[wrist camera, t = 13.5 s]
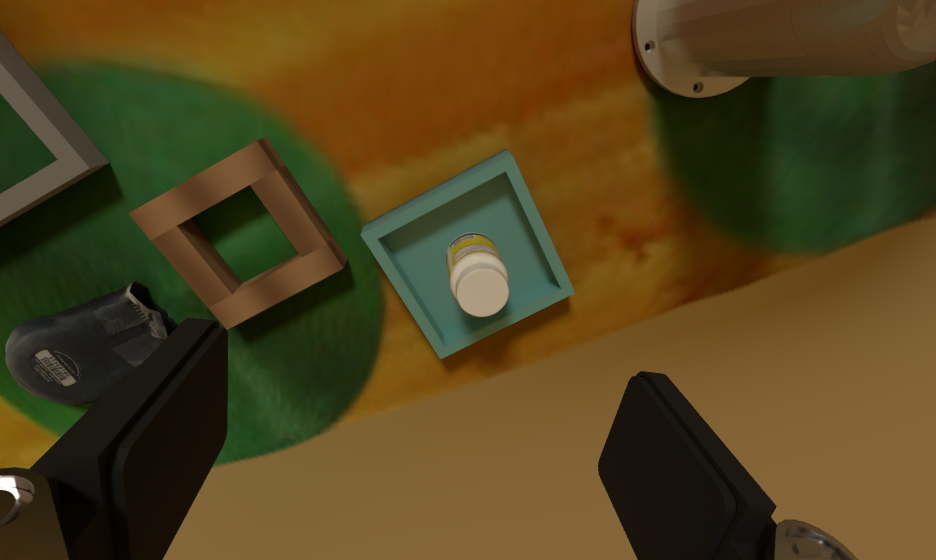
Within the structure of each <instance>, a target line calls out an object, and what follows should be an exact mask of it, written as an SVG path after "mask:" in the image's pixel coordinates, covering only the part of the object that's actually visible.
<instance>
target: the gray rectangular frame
mask: <svg viewBox="0 0 936 560" xmlns="http://www.w3.org/2000/svg"><path fill="white" fill-rule="evenodd" d="M0 93H1V95H2V96H3V97H4V98H5V99H6V100H7V101H8V103H9V104H10V105H11V106H12V107H13V108H14V109H15V111H16V112H17V113H18V114H19V115H20V116H21V117H22V119H23V120H24V121H25V122H26V123H27V124H28V126H29V127H30V128H31V129H32V130H33V131H34V132H35V134H36V135H37V136H38V137H39V138H40V139H41V140H42V142H43V143H44V144H45V145H46V146H47V147H48V149H49V150H50V151H51V152H52V153H53V154H54V155H55V157H56V158H57V159H58V160H57V161H55V162H54V163H52V164H50V165H49V166H47V167H45V168H44V169H42V170H40V171H39V172H37V173H35V174H33V175H32V176H30V177H28V178H27V179H25V180H23V181H22V182H20V183H18V184H17V185H15V186H13V187H12V188H10V189H8V190H6V191H5V192H3V193H1V194H0V227H1V226H3V225H4V224H6V223H8V222H9V221H11V220H13V219H15V218H16V217H18V216H20V215H21V214H23V213H25V212H27V211H28V210H30V209H32V208H33V207H35V206H37V205H39V204H40V203H42V202H44V201H45V200H47V199H49V198H51V197H52V196H54V195H56V194H57V193H59V192H61V191H62V190H64V189H66V188H68V187H69V186H71V185H73V184H74V183H76V182H78V181H80V180H81V179H83V178H85V177H86V176H88V175H90V174H92V173H93V172H95V171H97V170H98V169H100V168H102V167H104V166H105V165H107V164H109V162H108V160H107V159H106V158H105V157H104V156H103V154H102V153H101V152H100V151H99V150H98V148H97V147H96V146H95V145H94V143H93V142H92V141H91V140H90V139H89V137H88V136H87V135H86V134H85V133H84V131H83V130H82V129H81V128H80V127H79V125H78V124H77V123H76V122H75V120H74V119H73V118H72V117H71V116H70V114H69V113H68V112H67V111H66V110H65V108H64V107H63V106H62V105H61V104H60V102H59V101H58V100H57V99H56V97H55V96H54V95H53V94H52V93H51V91H50V90H49V89H48V88H47V87H46V85H45V84H44V83H43V82H42V81H41V79H40V78H39V77H38V76H37V74H36V73H35V72H34V71H33V70H32V68H31V67H30V66H29V65H28V64H27V62H26V61H25V60H24V59H23V58H22V56H21V55H20V54H19V53H18V51H17V50H16V49H15V48H14V47H13V45H12V44H11V43H10V42H9V41H8V39H7V38H6V37H5V36H4V35H3V33H2V32H1V31H0Z"/></svg>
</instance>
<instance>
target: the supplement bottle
mask: <svg viewBox="0 0 936 560" xmlns="http://www.w3.org/2000/svg"><path fill="white" fill-rule="evenodd" d="M446 263H447V269H448V276H449V282H450V288H451V291H452V293H453V295H454V297H455V298H456V299H457V300H458V303H459V305H460V306H461V307H462V309H463V310H464V311H466V312H467V313H469V314H471V315H473V316H478V317H486V316H490V315H493V314H495V313H497V312H498V311H499V310H501V309H502V308H503V306H504V305H505V303H506V302H507V299H508V295H509V288H508V274H507V270H506V267H505V265H504V263H503V261H502V259H501V257H500V255H499V253H498V251H497V248H496V246H495V245H494V243H493V242H492V241H491V239H489V238H488V237H487V236H485V235H483V234H480V233H475V232H470V233H465V234H462V235H460V236H458V237H457V238H455V239H454V240H453V241H452V243H451V244H450V246H449V247H448V250H447V254H446Z"/></svg>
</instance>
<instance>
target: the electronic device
mask: <svg viewBox="0 0 936 560" xmlns="http://www.w3.org/2000/svg"><path fill="white" fill-rule="evenodd" d="M145 287H146V286H144V285H143V284H141V283H138V282H137V281H134V282H133V283H131V284H129V285H128V286H127V287H125V288H122V289H120V290H118V291H116V292H113V293H110V294H107V295H105V296H102V297H100V298H97V299H96V298H94V299H92V300H91V301H89V302H86V303H84V304H81V305H78V306H76V307H73V308H70V309H68V310H65V311H63V312H60V313H57V314H55V315H52V316H42V317H40V318H34V319H31V320H29V321H27V322H24V323H23V324H21V325H20V326H17V327H16V328H15V329H14V330H13V331H12V333H11V335H10V337H9V339H8V341H7V343H6V350H5V351H6V364H7V366H8V368H9V370H10V373H11V375H12V376H13V378H14V379H15V381H16V382H17V384H18V385H20V386H21V387H22V388H24V389H25V390H27V391H28V392H29V393H32V394H34V395H37V396H39V397H41V398H43V399H46V400H49V401H52V402H55V403H59V404H65V405H80V404H85V403H93V402H97V401H98V400H99V399H100V398H101V397H102V396H103V395H104V394H105V393H106V392H107V391H108V390H109V389H110V388H111V387H112V386H113V385H114V384H115V383H116V382H117V381H118V380H119V379H121V378H122V377H123V376H126V375H131V374H132V373H133V372H134V371H135V370H136V369H137V368H138V367H139V366H140V365H141V364H142V363H143V362H144V361H145V360H146V359H147V358H148V357H149V356H150V355H151V354H152V353H153V352H154V351H155V350H156V348H157V347H158V346H159V345H160V344H161V343H162V342H163V341H164V340H165V339H166V338H167V337H168V336H167V335H170V334H171V333H172V332H173V331H174V330H175V329H176V328H177V325H176V324H175V321H174V319H172V318H168V313H167V312H166V311H165V310H164V309H161V308H159V307H158V306H157V305H156V304H155V303H141V302H139V301H138V300H137V299H136V298H139V297H144V296H145V297H147V298H149V299H152V298H151V297H150V295H149V293H148V292H146V291H145V290H144V289H143V288H145Z"/></svg>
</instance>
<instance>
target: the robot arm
mask: <svg viewBox="0 0 936 560" xmlns="http://www.w3.org/2000/svg"><path fill="white" fill-rule="evenodd" d="M632 33H633V42H634V46H635V50H636V53H637V57H638V59H639V61H640V63H641V65H642V67H643V69H644V70H645V71H646V73H647V74H648V75H649V77H650V78H651V79H652V80H653V81H654V82H655V83H656V84H658V85H659V86H660V87H661V88H663V89H665V90H667V91H669V92H671V93H673V94H675V95H680V96H684V97H692V98H702V97H712V96H716V95H719V94H722V93H725V92H728V91H730V90H732V89H734V88H735V87H737V86H739V85H741V84H742V83H744V82H745V81H746V80H748V79H749V78H750V77H809V76H863V75H883V74H891V73H897V72H901V71H905V70H909V69H912V68H916V67H918V66H921V65H924V64H926V63H929V62H931V61H933V60H936V0H635V2H634V6H633V16H632ZM645 44H647V45H648V48H647V50H646V51H645ZM694 85H695V89H694V90H693V87H694ZM227 403H228V332H227V330H226V329H224V328H220V326H219V323H218V322H217V321H213V320H205V319H197V318H186V319H185V320H184V321H183V322H182V323H181V324H180V325H179V326H178V327H177V328H176V329H175V330H174V331H173V332H172V333H171V334H170V335H169V336H168V337H167V338H166V339H165V340H164V341H163V342H162V343H161V344H160V345H159V346H158V347H157V348H156V350H155V351H154V352H153V353H152V354H151V355H150V356H149V357H148V358H147V359H146V360H145V361H144V362H143V363H142V364H141V365H140V366H139V367H138V368H137V369H136V370H135V371H134V372H133V373H132V374H131V375H126V376H123V377H122V378H121V379H119V380H118V381H117V382H116V383H115V384H114V385H113V386H112V387H111V388H110V389H109V390H108V391H107V392H106V393H105V394H104V395H103V396H102V397H101V398H100V399H99V400H98V401H97V402H96V403H95V404H94V405H93V406H92V407H91V408H90V409H89V410H88V411H87V412H86V413H85V414H84V415H83V416H82V417H81V418H80V419H79V420H78V421H77V422H76V423H75V424H74V425H73V426H72V427H71V428H70V429H69V430H68V431H67V432H66V433H65V434H64V435H63V436H62V437H61V438H60V439H59V440H58V441H57V442H56V443H55V444H54V445H53V446H52V447H51V448H50V449H49V450H48V451H47V452H46V453H45V454H44V455H43V456H42V457H41V458H40V459H39V460H38V461H37V462H36V463H35V464H34V465H33V466H32V467H31V468H30V469H25V468H18V467H12V468H0V560H162V559H163V558H164V556H165V554H166V552H167V550H168V548H169V546H170V544H171V543H172V541H173V539H174V537H175V535H176V533H177V531H178V530H179V528H180V526H181V524H182V522H183V520H184V518H185V517H186V515H187V513H188V511H189V509H190V507H191V505H192V503H193V502H194V500H195V498H196V496H197V494H198V492H199V490H200V488H201V487H202V485H203V483H204V481H205V479H206V477H207V475H208V473H209V472H210V470H211V468H212V466H213V464H214V462H215V460H216V459H217V457H218V455H219V453H220V451H221V449H222V447H223V445H224V442H225V439H226V435H227ZM598 471H599V475H600V478H601V480H602V483H603V485H604V487H605V489H606V491H607V493H608V496H609V498H610V500H611V502H612V504H613V507H614V509H615V511H616V513H617V515H618V517H619V519H620V522H621V524H622V526H623V528H624V531H625V532H626V535H627V537H628V539H629V542H630V544H631V546H632V548H633V550H634V552H635V555H636V557H637V559H638V560H858V559H857V558H856V557H855V556H854V555H853V554H852V553H851V552H850V551H849V550H848V549H847V548H846V547H845V546H844V545H843V544H841V543H840V542H839V541H838V540H836V539H835V538H834V537H833V536H831V535H829V534H828V533H826V532H824V531H822V530H821V529H819V528H817V527H815V526H813V525H810V524H808V523H805V522H802V521H798V520H784V521H782V522H780V523H778V525H777V524H776V523H775V522H774V520H773V519H772V518H771V515H772V514H773V512H774V510H775V509H776V505H775V504H774V503H773V502H772V500H771V499H770V498H769V497H768V496H767V495H766V493H765V492H764V491H763V490H762V489H761V487H760V486H759V485H758V484H757V483H756V481H755V480H754V479H753V478H752V476H751V475H750V474H749V473H748V472H747V471H746V469H745V468H744V467H743V466H742V465H741V463H740V462H739V461H738V460H737V459H736V457H735V456H734V455H733V454H732V453H731V451H730V450H729V449H728V448H727V447H726V446H725V445H724V443H723V442H722V441H721V440H720V438H719V437H718V436H717V435H716V434H715V433H714V432H713V430H712V429H711V428H710V427H709V425H708V424H707V423H706V422H705V421H704V419H703V418H702V417H701V416H700V415H699V414H698V412H697V411H696V410H695V409H694V407H693V406H692V405H691V404H690V403H689V402H688V400H687V399H686V398H685V397H684V396H683V394H682V393H681V392H680V391H679V390H678V388H677V387H676V386H675V385H674V384H673V383H672V381H671V380H670V379H669V378H668V377H667V376H666V375H665V374H661V373H653V372H644V371H641V372H639V373H638V374H637V375H636V376H633V377H631V379H630V380H629V382H628V385H627V388H626V390H625V393H624V395H623V398H622V401H621V403H620V406H619V409H618V411H617V414H616V417H615V419H614V422H613V424H612V427H611V430H610V432H609V435H608V438H607V440H606V443H605V446H604V448H603V451H602V454H601V457H600V459H599V463H598Z"/></svg>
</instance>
